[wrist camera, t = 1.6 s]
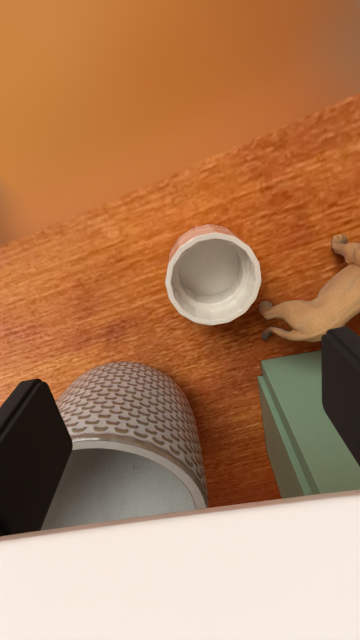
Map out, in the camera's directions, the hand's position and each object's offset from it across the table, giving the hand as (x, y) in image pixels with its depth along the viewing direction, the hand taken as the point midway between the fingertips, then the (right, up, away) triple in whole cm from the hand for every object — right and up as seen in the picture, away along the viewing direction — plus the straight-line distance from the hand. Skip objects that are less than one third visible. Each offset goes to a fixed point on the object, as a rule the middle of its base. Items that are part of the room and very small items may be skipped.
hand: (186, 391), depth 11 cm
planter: (-5, -5, +22) cm, 23 cm away
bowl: (+2, +7, +16) cm, 18 cm away
